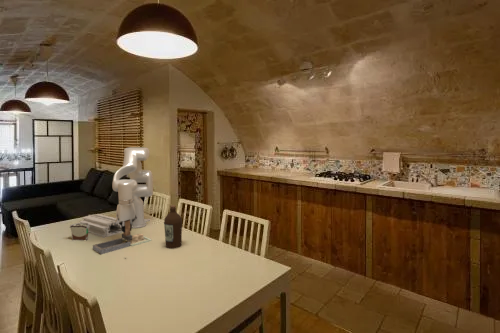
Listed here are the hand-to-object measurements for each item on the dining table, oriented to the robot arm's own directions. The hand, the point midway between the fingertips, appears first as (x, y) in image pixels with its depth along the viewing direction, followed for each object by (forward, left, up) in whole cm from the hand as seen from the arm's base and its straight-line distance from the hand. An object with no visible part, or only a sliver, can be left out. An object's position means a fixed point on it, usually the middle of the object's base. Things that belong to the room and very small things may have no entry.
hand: (126, 230), depth 173 cm
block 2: (-8, 0, -8) cm, 11 cm away
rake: (0, 0, -5) cm, 5 cm away
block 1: (-4, +1, -8) cm, 9 cm away
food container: (+14, -33, -9) cm, 37 cm away
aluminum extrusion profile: (-1, -41, -10) cm, 42 cm away
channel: (+9, +1, -9) cm, 13 cm away
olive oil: (-18, +23, -9) cm, 30 cm away
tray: (-6, +1, -9) cm, 11 cm away
